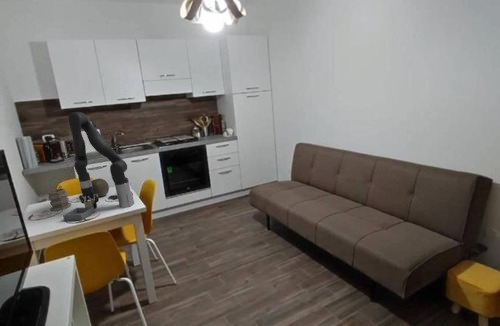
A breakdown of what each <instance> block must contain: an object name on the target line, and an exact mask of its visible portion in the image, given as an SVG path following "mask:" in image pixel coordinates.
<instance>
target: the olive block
mask: <svg viewBox="0 0 500 326" xmlns="http://www.w3.org/2000/svg"><path fill="white" fill-rule="evenodd" d="M85 207H94V206H93V202H92V201H91V200H88V201H87V202H86V203H85V204H84V208H85ZM96 209H97V208H94V210H96Z"/></svg>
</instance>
